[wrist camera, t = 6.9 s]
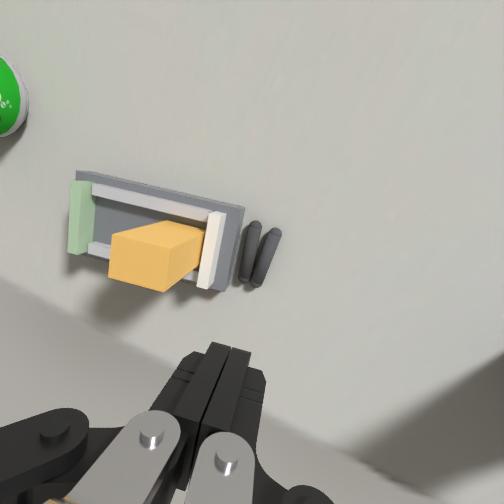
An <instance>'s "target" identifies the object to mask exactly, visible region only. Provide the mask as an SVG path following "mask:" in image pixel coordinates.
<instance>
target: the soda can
mask: <svg viewBox="0 0 504 504" xmlns="http://www.w3.org/2000/svg"><path fill="white" fill-rule="evenodd" d="M28 108H29V100H28V93H27V90H26V88H25V86H24V83H23V82H22V79H21V77H20V75H19V73H18V72H17V71H16V69H15V68H14V67H13V65H12V64H11V63H10V62H8V61H7V60H6V59H5V58H3V57H2V56H1V55H0V137H5V136H8V135H10V134H12V133H14V132H15V131H16V130H17V129H18V128H19V127H20V125H21V124H22V123H23V122H24V121H25V119H26V116H27V114H28Z"/></svg>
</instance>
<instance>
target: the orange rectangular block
mask: <svg viewBox="0 0 504 504" xmlns="http://www.w3.org/2000/svg"><path fill="white" fill-rule="evenodd" d="M205 234H206V230H205V229H201V228H197V227H192V226H188V225H184V224H180V223H176V222H172V221H168V220H166V221H162V222H158V223H154V224H150V225H146V226H142V227H138V228H134V229H130V230H126V231H122V232H119V233H115V234H112V240H111V251H110V261H109V272H108V277H109V278H112V279H116V280H120V281H124V282H127V283H131V284H135V285H138V286H142V287H146V288H149V289H153V290H157V291H161V292H165V291H166V290H168V289H169V288H170V287H172V286H173V285H174V284H175V283H177V282H178V281H179V280H180V279H182V278H183V277H184V276H185V275H187V274H188V273H189V272H191V271H192V270H193V269H194V268H196V267H197V266H198V265H199V264H200V263H201V257H202V251H203V246H204V240H205Z"/></svg>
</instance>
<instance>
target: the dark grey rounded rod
mask: <svg viewBox="0 0 504 504" xmlns="http://www.w3.org/2000/svg"><path fill="white" fill-rule="evenodd" d="M281 236H282V233H281V230H280V229H278V228H272V229H271V230H270V231H269V234H268V236H267V239H266V241H265V244H264V246H263V249H262V252H261V254H260V257H259V259H258V262H257V265H256V267H255V270H254V272H253V275H252V278H251V281H250V283H251V285H252V286H253V287H255V288H258V287H260V286H261V285H262V283H263V281H264V278H265V276H266V273H267V271H268V268H269V266H270V263H271V261H272V258H273V256H274V253H275V251H276V248H277V246H278V243H279V241H280V238H281Z"/></svg>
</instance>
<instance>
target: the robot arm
mask: <svg viewBox="0 0 504 504" xmlns="http://www.w3.org/2000/svg"><path fill="white" fill-rule="evenodd" d="M250 357H251V352H248V351H244V350H241V349H237V348H234V347H232V350H231V347H230V346H226V345H223V344H219V343H216V342H212V343H211V344H210V346H209V348H208V350H207V352H206V353H205V354H202V353H199V352H195V351H194V352H192V353H191V354H189V355H187V356H186V357H184V358H183V359H182V361H181V362H180V364H179V365H178V367H177V369H176V370H175V371H174V373H173V374H172V376H171V378H170V379H169V380H168V382H167V383H166V385H165V386H164V388H163V389H162V391H161V393H160V394H159V395H158V397H157V398H156V400H155V401H154V403H153V404H152V406H151V407H150V409H149V410H148V411H147V412H143V413H141V414H138V415H136V416H135V417H134V418H132V419H131V420H130V421H129V422H128V423H127V424H126V425H125V426H123V427H117V428H89V420H88V418H87V416H86V415H85V414H84V413H83V412H81V411H79V410H77V409H72V408H60V409H54V410H51V411H48V412H45V413H42V414H39V415H36V416H33V417H30V418H27V419H24V420H21V421H18V422H15V423H12V424H10V425H7V426H4V427H1V428H0V504H170V502H171V500H172V498H173V494H174V492H175V490H176V488H177V489H180V490H183V491H185V490H186V487H187V484H188V482H189V479H190V482H189V487H188V491H187V495H186V498H185V502H184V504H334V503H333V502H332V501H331V500H330V499H329V498H328V497H327V496H326V495H325V494H324V493H322V492H321V491H320V490H318V489H316V488H314V487H311V486H306V485H299V486H295V487H292V488H291V489H289V490H287V489H285V488H284V487H282V486H281V485H280V484H278V483H277V482H275V481H274V480H273V479H272V478H270V477H269V476H268V475H267V474H266V472H265V471H264V470H263V469H262V467H261V465H260V463H259V461H258V458H257V454H256V441H257V434H258V429H259V423H260V417H261V410H262V404H263V398H264V392H265V386H266V380H265V378H264V375H263V372H262V371H261V370H258V369H254V368H251V367H248V365H249V361H250ZM190 476H191V477H190Z"/></svg>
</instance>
